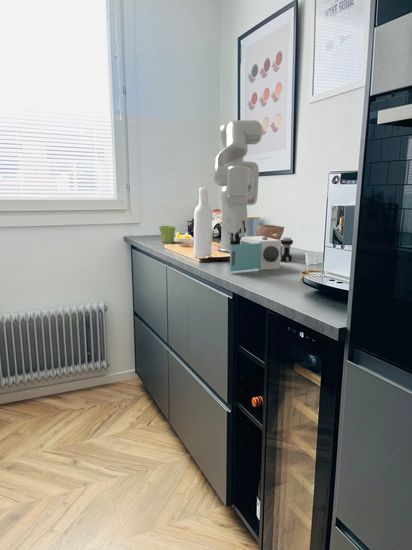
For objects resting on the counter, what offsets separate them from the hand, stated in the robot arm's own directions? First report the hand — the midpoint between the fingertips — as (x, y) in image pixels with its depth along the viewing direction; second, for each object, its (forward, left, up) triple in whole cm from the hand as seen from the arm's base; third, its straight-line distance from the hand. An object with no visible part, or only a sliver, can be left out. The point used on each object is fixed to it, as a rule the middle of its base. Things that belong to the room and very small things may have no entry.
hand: (234, 251), depth 152 cm
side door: (+3, +3, -7) cm, 8 cm away
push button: (-11, +31, -8) cm, 34 cm away
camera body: (-6, +15, -8) cm, 18 cm away
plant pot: (-80, +3, -8) cm, 81 cm away
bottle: (-32, +2, -8) cm, 33 cm away
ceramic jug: (-23, +31, -8) cm, 39 cm away
